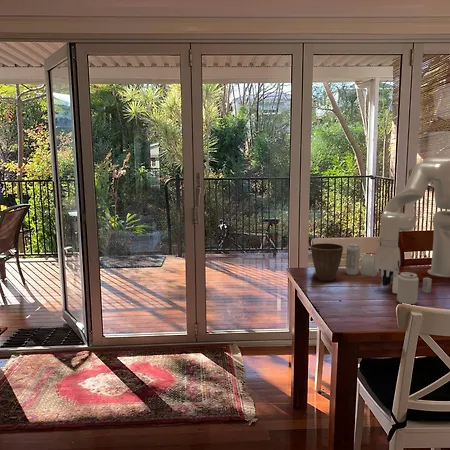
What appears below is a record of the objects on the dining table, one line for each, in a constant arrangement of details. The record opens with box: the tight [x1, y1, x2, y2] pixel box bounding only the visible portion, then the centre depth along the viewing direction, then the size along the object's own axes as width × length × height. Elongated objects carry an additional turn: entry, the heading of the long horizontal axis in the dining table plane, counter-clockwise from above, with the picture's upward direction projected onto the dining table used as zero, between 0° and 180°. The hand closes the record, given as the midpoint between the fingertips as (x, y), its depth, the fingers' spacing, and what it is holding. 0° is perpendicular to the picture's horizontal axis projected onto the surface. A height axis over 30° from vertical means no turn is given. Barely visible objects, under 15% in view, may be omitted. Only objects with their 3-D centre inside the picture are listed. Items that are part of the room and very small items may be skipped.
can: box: [396, 271, 419, 306], centre depth 171 cm, size 8×8×12 cm
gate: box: [391, 273, 401, 294], centre depth 191 cm, size 3×18×7 cm, turn 163°
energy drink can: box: [345, 243, 361, 276], centre depth 212 cm, size 6×6×15 cm
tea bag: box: [360, 253, 378, 277], centre depth 212 cm, size 4×7×10 cm, turn 50°
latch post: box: [421, 276, 433, 294], centre depth 185 cm, size 2×2×6 cm
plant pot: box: [310, 242, 344, 282], centre depth 204 cm, size 15×15×16 cm
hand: (385, 284), depth 186 cm, fingers closed
